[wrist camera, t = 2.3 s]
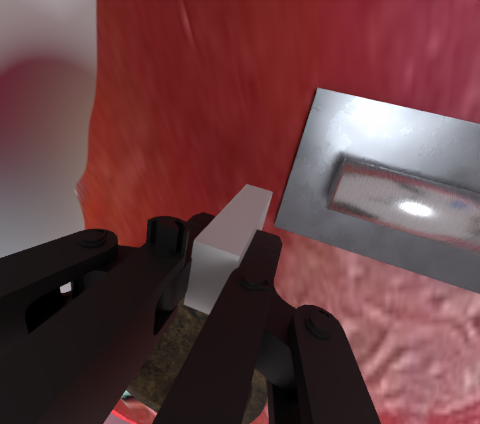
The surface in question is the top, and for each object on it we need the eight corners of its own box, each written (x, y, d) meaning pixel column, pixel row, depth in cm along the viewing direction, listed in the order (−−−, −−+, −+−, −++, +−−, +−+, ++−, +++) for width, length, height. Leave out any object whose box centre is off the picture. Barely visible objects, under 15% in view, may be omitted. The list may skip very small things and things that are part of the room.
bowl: (297, 263, 29) (289, 330, 20) (265, 375, 38) (250, 455, 29) (139, 219, 33) (76, 259, 25) (144, 329, 43) (99, 387, 34)
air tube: (325, 198, 24) (326, 217, 20) (343, 153, 22) (349, 163, 18) (582, 275, 21) (648, 316, 17) (632, 229, 19) (719, 263, 15)
